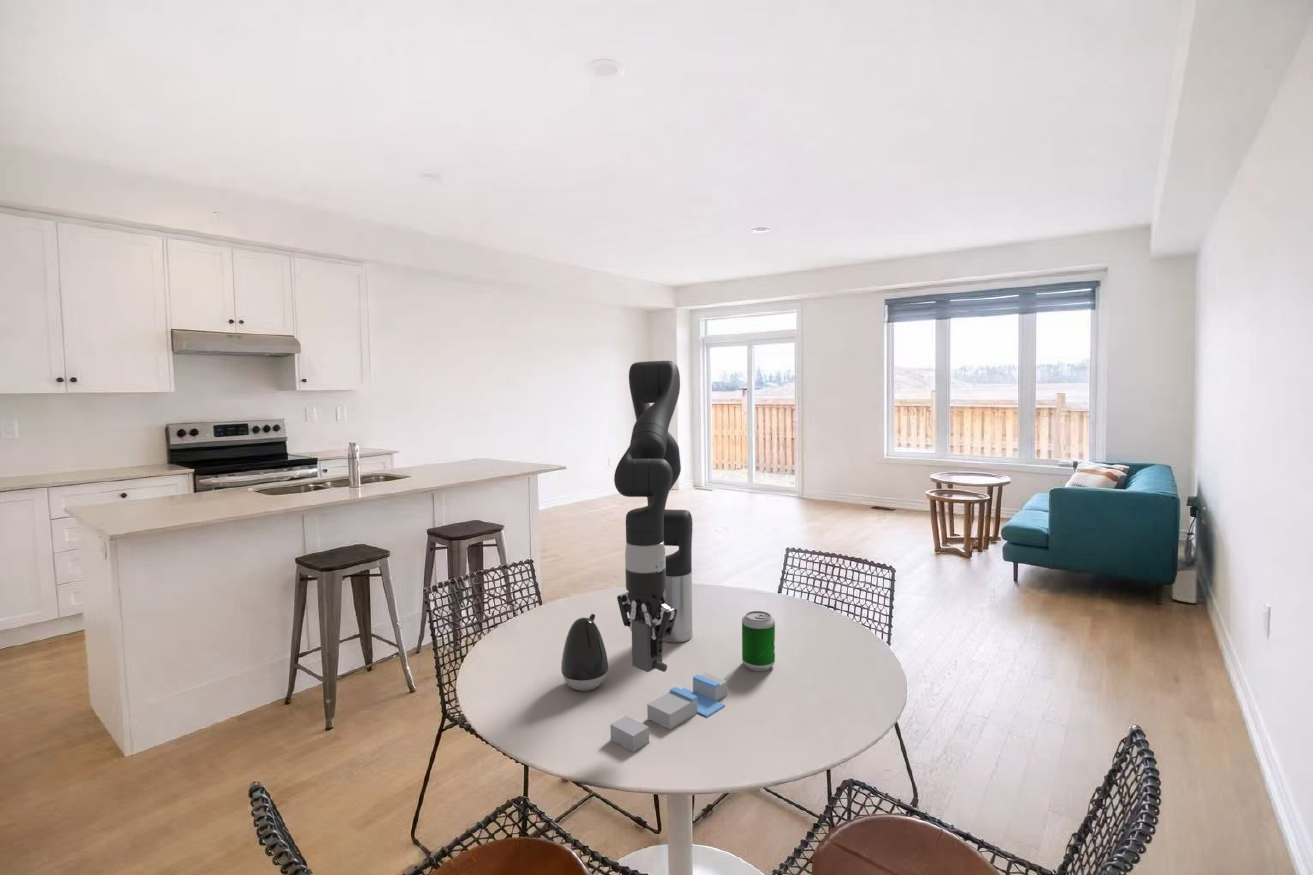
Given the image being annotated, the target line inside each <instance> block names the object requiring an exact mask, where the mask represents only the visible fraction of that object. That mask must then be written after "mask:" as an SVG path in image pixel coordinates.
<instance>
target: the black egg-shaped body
mask: <svg viewBox="0 0 1313 875" xmlns="http://www.w3.org/2000/svg"><path fill="white" fill-rule="evenodd" d="M595 619H596V614H594V613H591V614H590V615H589V616H588V617H580V618H577V619H575V621H573V623H572V624H571V626H570V628H569V630H568V632H567V635H566V639H565V642H564V646H563V649H562V650H563V651H562V657H561V668H560V669H561V675H562V676H563V678H564V681H565V682H566V684H567V685H568V686H569V687H570V688H571V689H574V690H577V691H582V692H585V691H586V692H587V691H592V690H594V689H597V688H598V687H599V686H600V685H601V684H602V683H603V682H604V680H605V678H606V676H607V672H608V670H609V661H608V656H607V650H606V645H605V642H604V639H603V637H602V633H601V632H600V630H599V627H598V625H597V623H595V622H594V621H595Z"/></svg>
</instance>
